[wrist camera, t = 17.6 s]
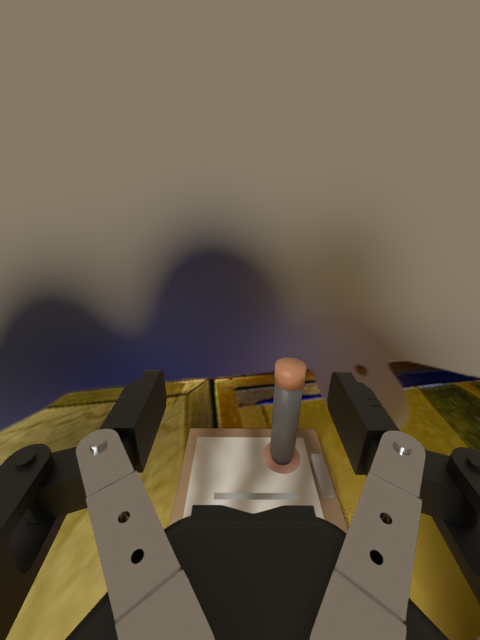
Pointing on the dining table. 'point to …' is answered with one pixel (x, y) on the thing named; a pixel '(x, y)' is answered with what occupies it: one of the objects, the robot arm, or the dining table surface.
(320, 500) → the clipboard
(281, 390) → the marker
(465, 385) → the dining table surface
